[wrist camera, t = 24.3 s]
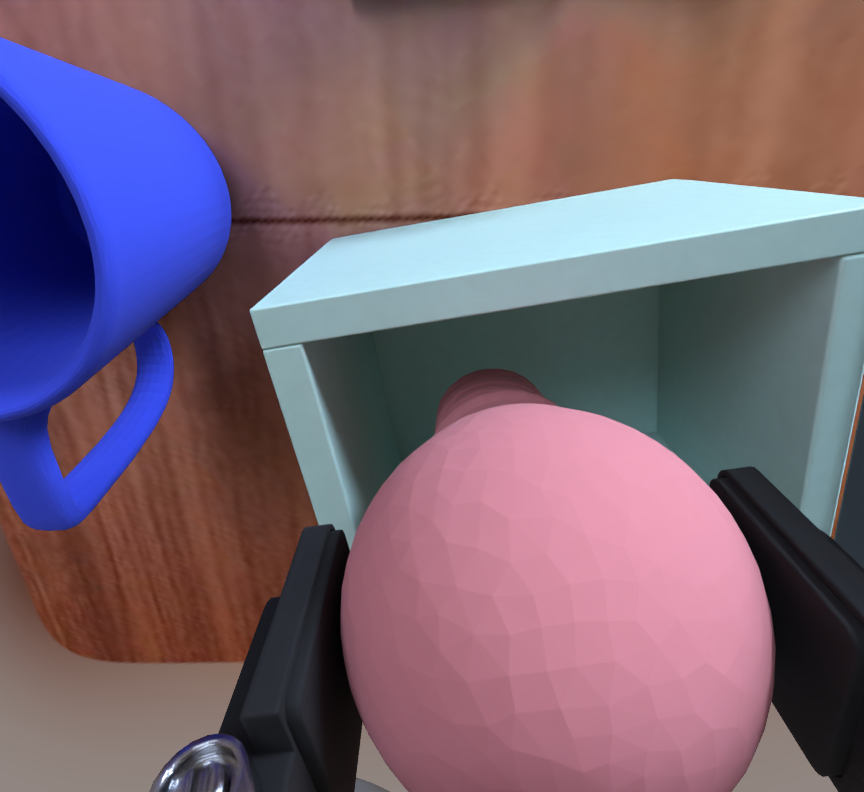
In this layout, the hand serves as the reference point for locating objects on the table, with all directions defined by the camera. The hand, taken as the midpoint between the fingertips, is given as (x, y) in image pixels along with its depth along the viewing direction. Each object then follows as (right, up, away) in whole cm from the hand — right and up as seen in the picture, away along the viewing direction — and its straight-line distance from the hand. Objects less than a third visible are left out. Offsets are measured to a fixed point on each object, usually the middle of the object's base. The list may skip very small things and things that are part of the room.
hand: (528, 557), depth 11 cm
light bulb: (0, +3, +7) cm, 7 cm away
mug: (-12, +9, +10) cm, 18 cm away
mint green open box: (+1, +5, +11) cm, 12 cm away
